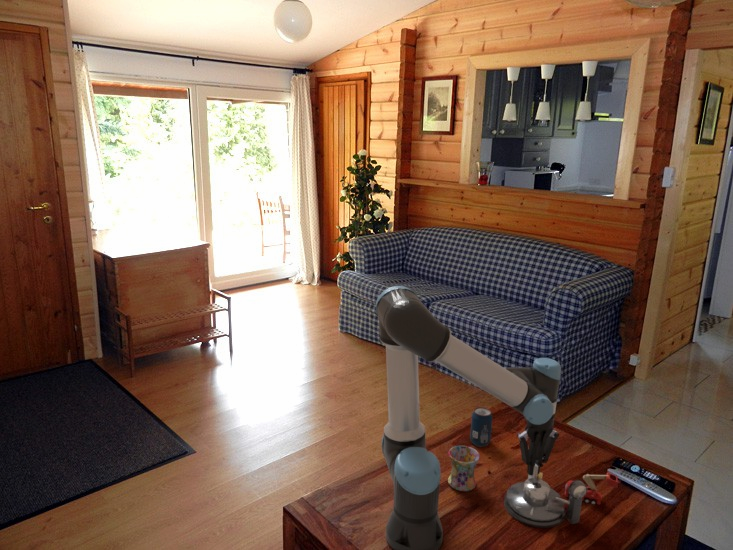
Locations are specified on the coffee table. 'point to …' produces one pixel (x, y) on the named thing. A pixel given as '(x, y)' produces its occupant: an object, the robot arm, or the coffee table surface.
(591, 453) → the coffee table surface
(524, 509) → the turntable
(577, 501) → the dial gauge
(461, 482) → the mug
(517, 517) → the base
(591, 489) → the toy fire truck
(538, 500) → the cover
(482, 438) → the soda can
